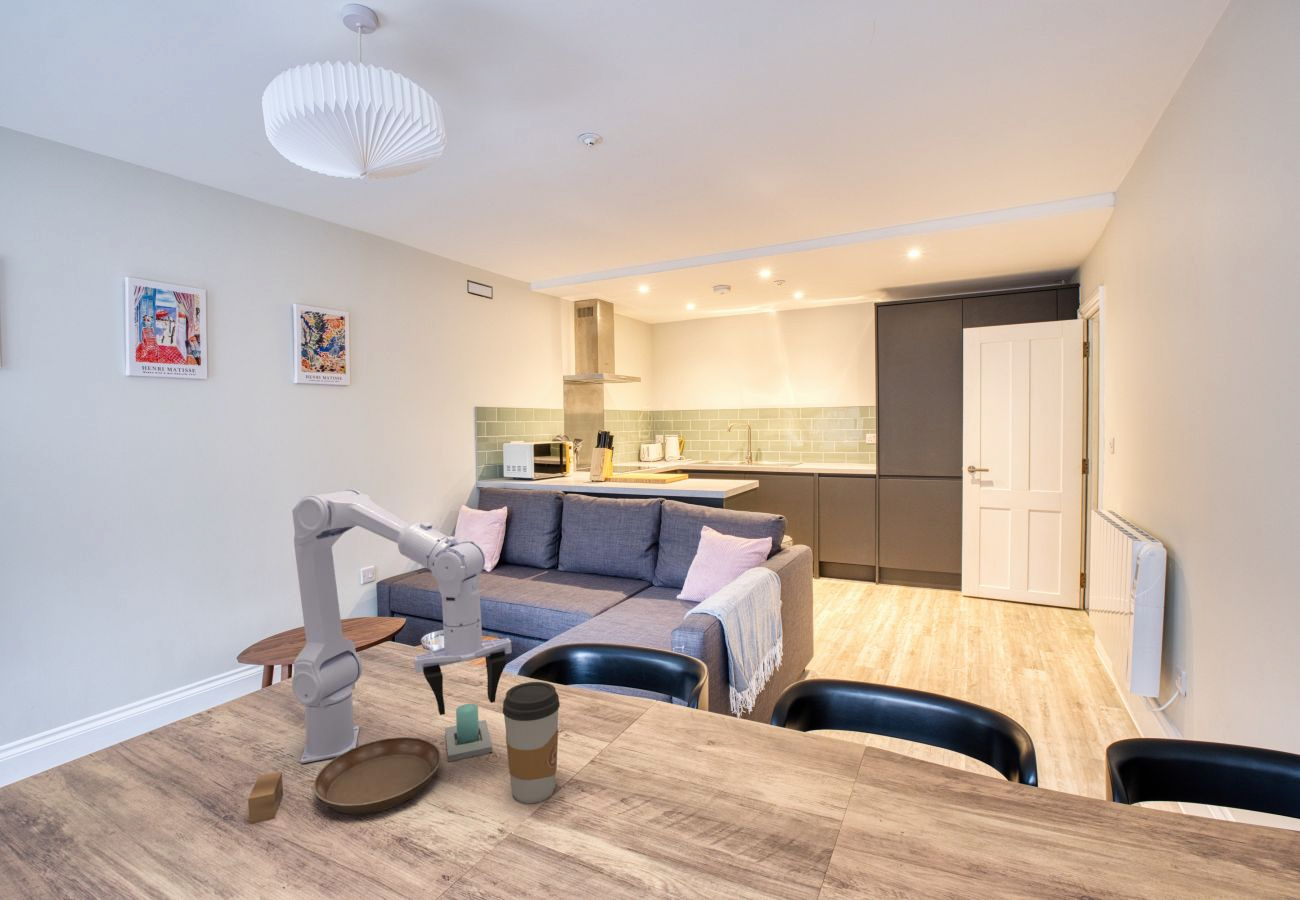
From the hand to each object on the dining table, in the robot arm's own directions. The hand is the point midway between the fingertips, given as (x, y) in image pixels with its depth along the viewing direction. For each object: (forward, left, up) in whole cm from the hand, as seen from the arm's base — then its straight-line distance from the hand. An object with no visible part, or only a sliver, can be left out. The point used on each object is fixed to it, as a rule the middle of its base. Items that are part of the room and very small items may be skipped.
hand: (467, 706), depth 96 cm
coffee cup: (+10, +8, -11) cm, 17 cm away
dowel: (-9, 0, -10) cm, 14 cm away
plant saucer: (-1, -13, -11) cm, 17 cm away
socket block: (-9, 0, -10) cm, 14 cm away
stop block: (-1, -28, -10) cm, 30 cm away
